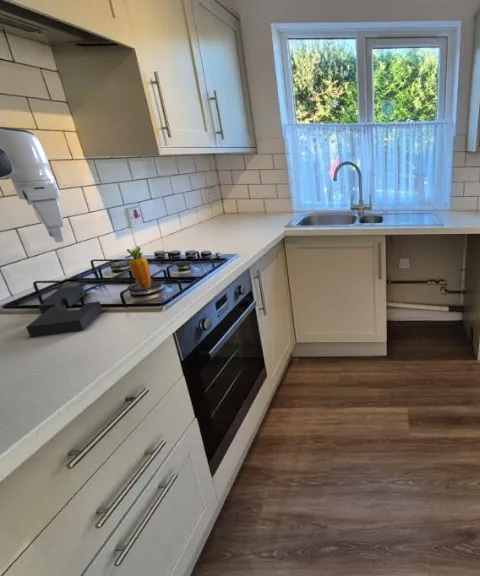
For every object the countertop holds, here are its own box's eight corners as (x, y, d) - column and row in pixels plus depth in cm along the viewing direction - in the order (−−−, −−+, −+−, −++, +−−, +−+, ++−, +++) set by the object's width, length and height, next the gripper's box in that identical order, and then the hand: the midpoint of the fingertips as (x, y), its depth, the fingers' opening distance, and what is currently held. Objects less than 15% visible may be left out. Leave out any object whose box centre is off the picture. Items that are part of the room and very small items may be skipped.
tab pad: (38, 316, 103) (33, 306, 102) (63, 296, 115) (60, 288, 114) (62, 313, 104) (59, 303, 103) (85, 294, 117) (82, 285, 116)
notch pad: (30, 337, 92) (25, 326, 90) (55, 316, 102) (51, 306, 101) (83, 330, 94) (79, 320, 93) (102, 310, 105) (99, 301, 104)
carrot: (134, 293, 116) (120, 248, 110) (148, 287, 121) (135, 244, 115) (146, 295, 115) (132, 250, 109) (159, 289, 119) (146, 245, 113)
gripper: (18, 189, 105) (37, 235, 110) (27, 195, 92) (47, 247, 98) (47, 186, 109) (64, 231, 115) (58, 192, 96) (77, 242, 102)
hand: (56, 239), depth 106 cm, fingers open, 8 cm apart
